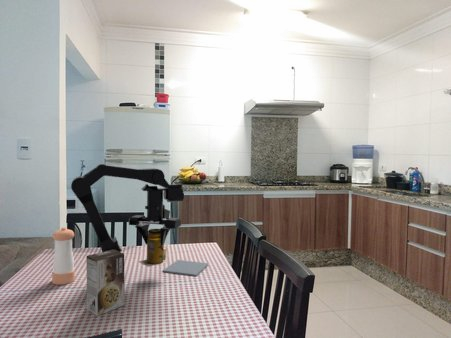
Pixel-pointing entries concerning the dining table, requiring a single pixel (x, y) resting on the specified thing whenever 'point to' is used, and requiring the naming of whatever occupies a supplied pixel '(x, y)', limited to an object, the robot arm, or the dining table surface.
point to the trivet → (186, 267)
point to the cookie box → (105, 281)
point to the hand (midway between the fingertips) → (154, 244)
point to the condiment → (154, 249)
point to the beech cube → (165, 252)
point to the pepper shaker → (63, 257)
